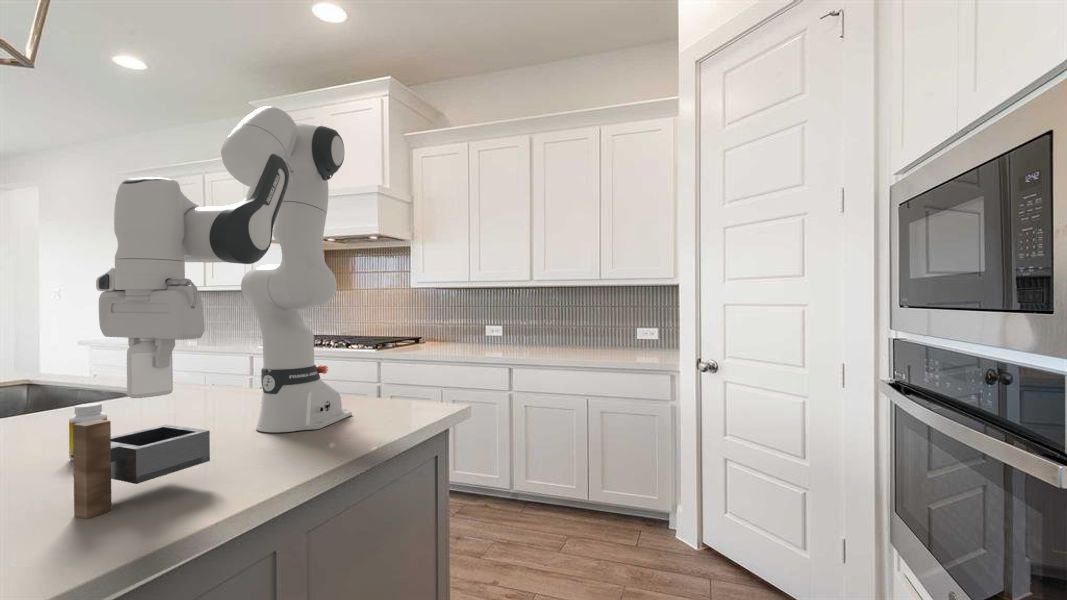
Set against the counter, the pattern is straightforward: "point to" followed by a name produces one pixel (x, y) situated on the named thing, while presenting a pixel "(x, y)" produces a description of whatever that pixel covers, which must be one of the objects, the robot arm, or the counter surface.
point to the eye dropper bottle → (147, 372)
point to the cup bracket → (128, 459)
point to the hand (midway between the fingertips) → (151, 367)
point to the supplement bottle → (84, 419)
